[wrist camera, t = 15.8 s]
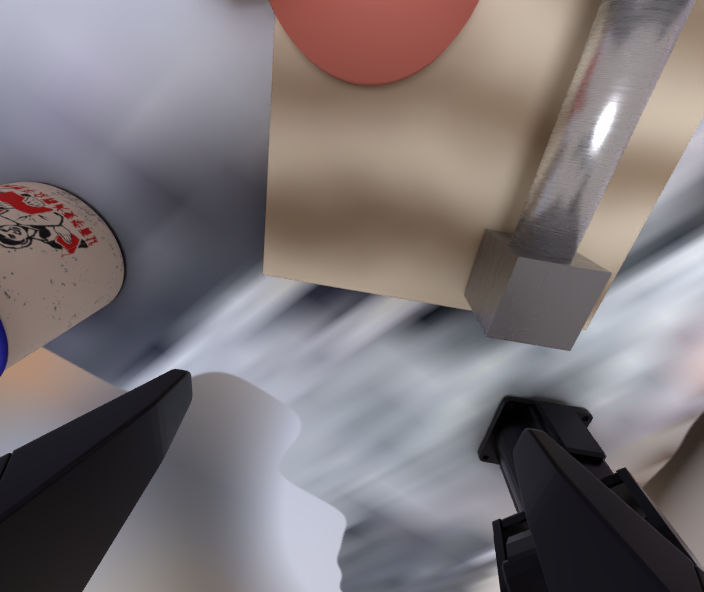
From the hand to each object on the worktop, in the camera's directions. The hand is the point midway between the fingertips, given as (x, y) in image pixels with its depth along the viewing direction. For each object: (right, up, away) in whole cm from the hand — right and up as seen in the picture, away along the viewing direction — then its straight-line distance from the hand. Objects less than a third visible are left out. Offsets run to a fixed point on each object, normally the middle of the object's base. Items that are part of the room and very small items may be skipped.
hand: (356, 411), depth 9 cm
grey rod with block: (+10, +9, +8) cm, 15 cm away
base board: (+6, +12, +8) cm, 16 cm away
